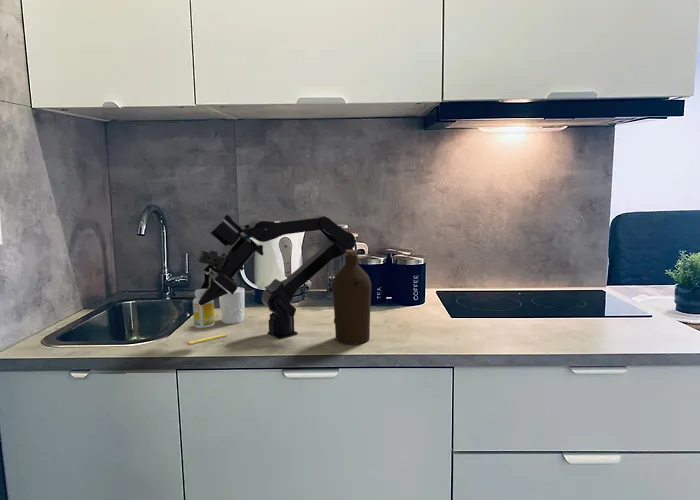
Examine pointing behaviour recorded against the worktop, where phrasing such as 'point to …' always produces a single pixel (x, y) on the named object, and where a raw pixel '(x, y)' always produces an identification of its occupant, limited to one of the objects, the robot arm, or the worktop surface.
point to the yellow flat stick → (207, 339)
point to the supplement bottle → (203, 311)
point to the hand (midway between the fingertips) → (197, 301)
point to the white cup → (232, 306)
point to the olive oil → (352, 302)
